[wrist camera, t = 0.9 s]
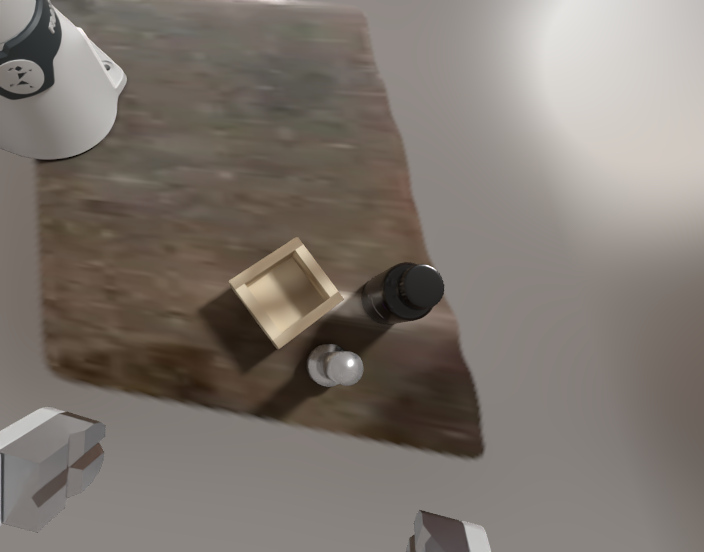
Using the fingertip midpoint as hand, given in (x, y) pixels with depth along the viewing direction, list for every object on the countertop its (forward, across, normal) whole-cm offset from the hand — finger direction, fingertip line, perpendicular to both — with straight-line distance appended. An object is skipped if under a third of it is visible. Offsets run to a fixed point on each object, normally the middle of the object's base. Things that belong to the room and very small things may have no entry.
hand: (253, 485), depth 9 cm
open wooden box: (+36, +9, +7) cm, 37 cm away
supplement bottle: (+40, -4, +5) cm, 41 cm away
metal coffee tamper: (+34, +2, +14) cm, 37 cm away
